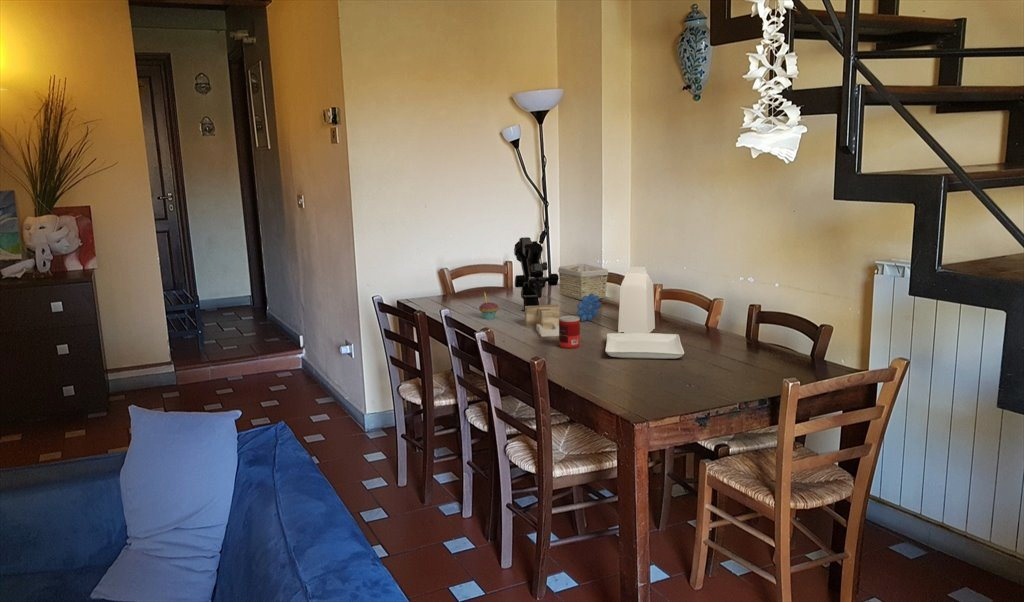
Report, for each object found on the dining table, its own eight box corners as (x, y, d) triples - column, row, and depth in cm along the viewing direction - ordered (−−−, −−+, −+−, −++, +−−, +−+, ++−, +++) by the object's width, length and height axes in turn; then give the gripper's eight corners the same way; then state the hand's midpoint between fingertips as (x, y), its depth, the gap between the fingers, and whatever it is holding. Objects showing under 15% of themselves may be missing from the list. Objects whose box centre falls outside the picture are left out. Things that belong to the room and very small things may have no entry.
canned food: (582, 344, 287) (581, 316, 285) (576, 349, 279) (576, 320, 277) (562, 343, 289) (562, 315, 287) (556, 348, 282) (556, 319, 280)
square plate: (605, 361, 265) (605, 350, 264) (606, 341, 291) (606, 332, 290) (684, 362, 261) (684, 351, 260) (678, 342, 287) (678, 332, 287)
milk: (618, 332, 304) (618, 268, 299) (626, 326, 315) (626, 263, 310) (647, 334, 299) (648, 269, 294) (655, 328, 310) (655, 265, 305)
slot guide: (536, 330, 311) (536, 324, 311) (556, 329, 312) (556, 323, 312) (541, 336, 300) (541, 330, 300) (561, 335, 301) (561, 329, 301)
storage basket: (557, 294, 388) (556, 265, 385) (584, 291, 395) (584, 263, 392) (581, 302, 367) (580, 271, 364) (609, 298, 374) (609, 269, 371)
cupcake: (476, 319, 334) (475, 292, 332) (484, 315, 342) (483, 289, 339) (494, 320, 331) (493, 293, 328) (501, 316, 338) (501, 290, 336)
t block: (525, 324, 322) (524, 306, 320) (557, 322, 323) (557, 304, 322) (530, 332, 308) (530, 313, 306) (564, 330, 310) (564, 311, 308)
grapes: (595, 317, 332) (595, 290, 329) (603, 320, 326) (603, 293, 323) (572, 320, 327) (572, 293, 325) (579, 323, 321) (579, 295, 319)
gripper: (514, 256, 326) (519, 286, 317) (557, 255, 328) (563, 284, 320) (512, 272, 335) (517, 301, 326) (554, 270, 337) (559, 299, 329)
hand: (539, 296), depth 325 cm, fingers closed
